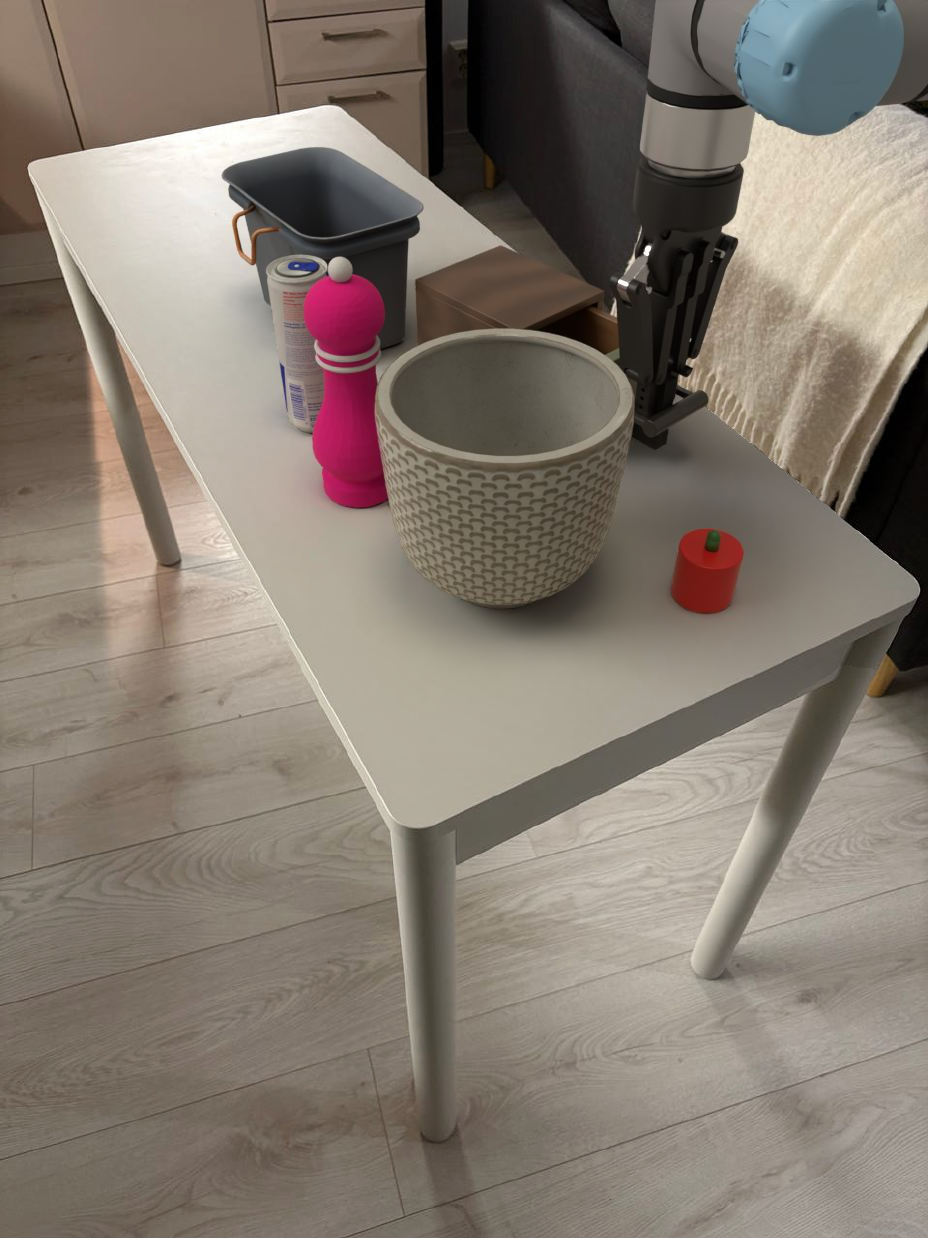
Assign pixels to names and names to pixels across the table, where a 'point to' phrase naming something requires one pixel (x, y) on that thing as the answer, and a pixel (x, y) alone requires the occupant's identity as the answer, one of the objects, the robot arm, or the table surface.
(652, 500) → the table surface
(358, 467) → the pepper mill
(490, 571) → the planter
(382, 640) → the table surface
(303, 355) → the beverage can
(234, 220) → the storage bin
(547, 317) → the cabinet
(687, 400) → the drawer
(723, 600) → the pepper
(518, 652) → the table surface
